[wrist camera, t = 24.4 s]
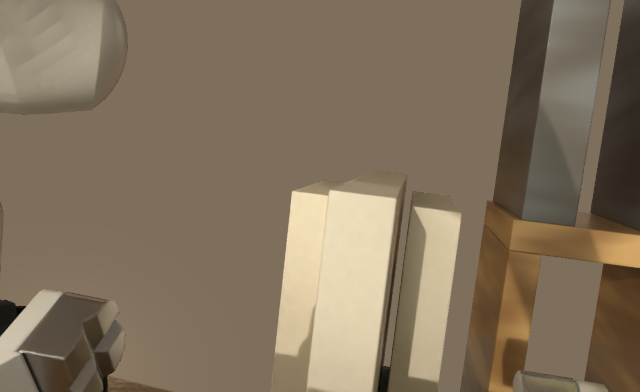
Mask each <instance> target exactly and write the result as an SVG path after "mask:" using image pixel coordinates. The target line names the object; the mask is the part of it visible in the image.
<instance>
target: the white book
mask: <svg viewBox="0 0 640 392" xmlns="http://www.w3.org/2000/svg"><path fill="white" fill-rule="evenodd" d="M406 184H407V174H398V173H391V172H383V171H374V170H373V171H371V172H368V173H366V174H364V175H362V176H360V177H357V178H355V179H353V180H351V181H349V182H347V183H344V184H342V185H340V186H338V187H336V188H333V189H331V190H329V193H328V202H327V210H326V219H325V228H324V237H323V246H322V255H321V263H320V272H319V281H318V290H317V299H316V307H315V316H314V325H313V334H312V343H311V351H310V360H309V369H308V378H307V387H306V392H379V388H380V382H381V375H382V369H383V363H384V356H385V348H386V341H387V332H388V325H389V316H390V309H391V301H392V294H393V286H394V278H395V270H396V262H397V254H398V245H399V238H400V231H401V230H400V229H401V222H402V215H403V207H404V199H405V192H406Z"/></svg>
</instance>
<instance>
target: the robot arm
mask: <svg viewBox="0 0 640 392" xmlns="http://www.w3.org/2000/svg"><path fill="white" fill-rule="evenodd" d="M127 48H128V43H127V31H126V25H125V22H124V18H123V15H122V12H121V10H120V8H119V5H118V3H117V2H116V0H0V112H3V113H13V114H22V115H27V114H46V113H62V112H74V111H85V110H91V109H93V108H94V107H96V106H97V105H99V104H100V103H101V102H102V101H103V100H104V99H105V98H106V97H107V96H108V95H109V94H110V93H111V91H112V90H113V89H114V87H115V86H116V84H117V83H118V81H119V79H120V77H121V75H122V72H123V69H124V66H125V62H126V56H127ZM2 233H3V209H2V206H1V203H0V269H1V252H2ZM0 301H1V300H0ZM118 314H119V311H118V308H117V305H116V303H115V302H113V301H109V300H104V299H99V298H94V297H90V296H84V295H80V294H74V293H69V292H64V291H59V290H53V289H48V288H46V289H45V290H43V291H40V292H39V293H38V294H37V295H36V296H35V297H34V298H33V300H32V301H31V302H30V303H29V304H28V305H27V306H26V308H25V309H24V310H23V311H22V312H21V313H20V314H19V316H18V317H17V318H16V319H15V320H14V321H13V323H12V324H11V325H10V326H9V327H8V328H7V330H6V331H5V332H4V333H3V334H2V335H1V337H0V392H102V391H103V383H102V379H103V378H104V377H106V376H108V375H109V374H111V373H112V372H114V371H115V369H116V368H117V366H118V364H119V362H120V361H121V358H122V355H123V351H124V348H125V333H124V329H123V327H122V326H121V325H120V324H119V323H118V322H117V321H116V320H115V319H116V317H117V316H118ZM513 392H608V389H607V388H606V386H605V385H604V384H599V383H593V382H587V381H581V380H573V379H572V378H567V377H560V376H554V375H548V374H541V373H535V372H529V371H522V370H518V371H517V373H516V374H515V377H514V380H513Z"/></svg>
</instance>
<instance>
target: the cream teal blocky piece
mask: <svg viewBox="0 0 640 392" xmlns="http://www.w3.org/2000/svg"><path fill="white" fill-rule="evenodd" d="M342 184H344V183H343V182H334V181H327V180H324V181H322V182H318V183H315V184H313V185H310V186H306V187H304V188H301V189H298V190H295V191H293V192H292V199H291V208H290V218H289V227H288V236H287V245H286V255H285V265H284V273H283V283H282V292H281V302H280V312H279V320H278V330H277V340H276V348H275V357H274V367H273V376H272V385H271V392H306V387H307V378H308V369H309V360H310V351H311V343H312V334H313V325H314V316H315V307H316V299H317V290H318V281H319V272H320V263H321V255H322V246H323V237H324V228H325V219H326V210H327V202H328V193H329V190H331V189H333V188H336V187H338V186H340V185H342ZM410 209H411V210H410V217H409V224H408V232H407V240H406V247H405V255H404V263H403V271H402V279H401V286H400V295H399V302H398V310H397V317H396V326H395V333H394V341H393V348H392V357H391V364H390V367H386V366H383V369H382V375H381V382H380V388H379V392H437V391H438V384H439V376H440V369H441V362H442V355H443V347H444V340H445V333H446V326H447V319H448V311H449V304H450V296H451V289H452V282H453V274H454V268H455V260H456V253H457V246H458V239H459V232H460V224H461V217H462V212H461V211H460V210H459V208H458V207H457V205H456V204H455V203H454V201H453V200H452V199H451V197H450V196H448V195H440V194H431V193H424V192H416V191H413V194H412V201H411V208H410Z"/></svg>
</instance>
